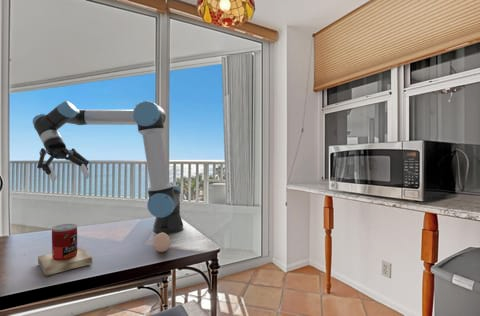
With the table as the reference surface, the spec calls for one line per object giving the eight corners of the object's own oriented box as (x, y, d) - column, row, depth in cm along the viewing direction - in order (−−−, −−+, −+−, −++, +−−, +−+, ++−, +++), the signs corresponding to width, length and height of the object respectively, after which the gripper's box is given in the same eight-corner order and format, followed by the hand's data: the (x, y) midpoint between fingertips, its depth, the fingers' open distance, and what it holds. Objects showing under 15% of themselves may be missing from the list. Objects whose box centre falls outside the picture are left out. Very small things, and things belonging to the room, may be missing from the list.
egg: (172, 248, 117) (172, 230, 117) (167, 254, 110) (167, 235, 110) (156, 248, 117) (156, 230, 117) (151, 254, 111) (151, 235, 110)
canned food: (65, 261, 95) (65, 230, 95) (46, 259, 97) (45, 228, 97) (82, 253, 103) (82, 224, 103) (64, 251, 104) (63, 223, 104)
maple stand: (81, 254, 110) (81, 246, 110) (92, 265, 100) (92, 257, 100) (38, 264, 100) (37, 256, 100) (45, 277, 90) (45, 268, 90)
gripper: (78, 148, 136) (96, 181, 128) (17, 148, 114) (35, 187, 107) (84, 137, 133) (103, 170, 126) (22, 135, 111) (41, 174, 104)
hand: (72, 178), depth 116 cm, fingers open, 13 cm apart
